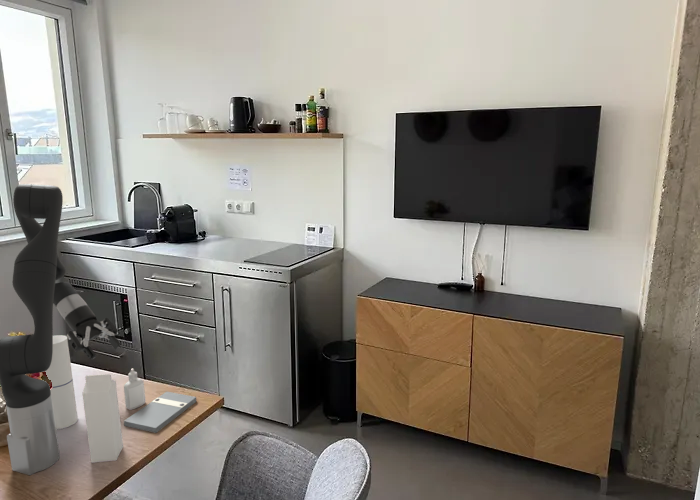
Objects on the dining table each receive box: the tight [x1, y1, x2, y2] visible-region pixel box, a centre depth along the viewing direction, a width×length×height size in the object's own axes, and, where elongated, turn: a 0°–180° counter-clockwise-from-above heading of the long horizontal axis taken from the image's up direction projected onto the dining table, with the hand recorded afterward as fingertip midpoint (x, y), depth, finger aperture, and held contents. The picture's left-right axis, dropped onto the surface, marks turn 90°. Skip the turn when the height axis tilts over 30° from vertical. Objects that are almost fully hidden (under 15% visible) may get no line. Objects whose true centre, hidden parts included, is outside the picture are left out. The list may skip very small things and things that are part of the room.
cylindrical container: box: [45, 334, 79, 430], centre depth 138 cm, size 7×7×25 cm
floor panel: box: [123, 391, 197, 433], centre depth 145 cm, size 18×11×2 cm, turn 161°
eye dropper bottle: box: [123, 368, 146, 410], centre depth 148 cm, size 4×6×12 cm
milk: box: [82, 373, 124, 464], centre depth 123 cm, size 6×6×22 cm
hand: (106, 352), depth 150 cm, fingers open, 8 cm apart
